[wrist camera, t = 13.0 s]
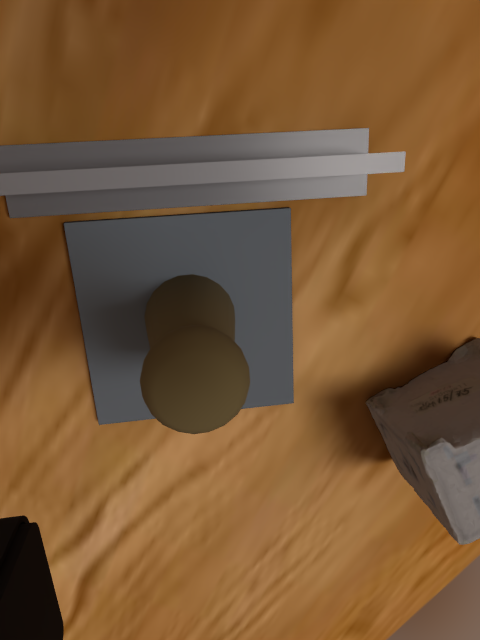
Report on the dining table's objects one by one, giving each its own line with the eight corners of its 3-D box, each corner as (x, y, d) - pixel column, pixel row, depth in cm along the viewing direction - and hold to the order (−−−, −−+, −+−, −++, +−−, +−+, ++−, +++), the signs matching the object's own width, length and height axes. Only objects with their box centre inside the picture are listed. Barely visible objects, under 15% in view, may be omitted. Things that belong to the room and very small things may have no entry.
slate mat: (288, 207, 30) (290, 208, 29) (291, 399, 34) (293, 403, 34) (65, 222, 28) (63, 223, 28) (100, 420, 33) (98, 424, 32)
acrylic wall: (365, 128, 29) (407, 120, 23) (362, 194, 30) (402, 200, 25) (-2, 146, 26) (-46, 141, 21) (13, 217, 28) (-26, 228, 22)
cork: (253, 311, 31) (291, 384, 21) (197, 376, 32) (206, 476, 22) (183, 255, 29) (186, 304, 19) (125, 325, 30) (98, 409, 20)
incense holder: (473, 322, 34) (591, 385, 24) (498, 408, 37) (613, 495, 27) (354, 379, 34) (424, 464, 25) (388, 461, 37) (463, 565, 28)
